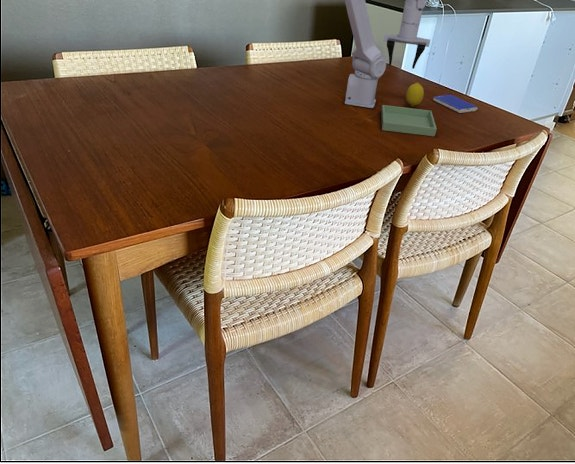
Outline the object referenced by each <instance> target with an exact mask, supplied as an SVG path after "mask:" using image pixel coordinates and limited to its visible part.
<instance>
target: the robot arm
mask: <svg viewBox="0 0 575 464" xmlns="http://www.w3.org/2000/svg"><path fill="white" fill-rule="evenodd" d="M404 1H405V2H404V6H403V12H402V17H401V23H400V26H399V33H398V34H392V33H385V34H384V38H383V42H386V47H387V53H388V66H392V63H393V54H394V51H395V44H396V43H399V44H400V43H401V44H406V45H414V46H415V45H416V50H415V56H414V58H413V62H412V66H411V69H415V68H416V65H417V63H418V60H419V59H420V57H421V56H422V54H423V53H424V52H425V50H426V48H429V47H430V44H431V39H429V38H424V37H418V33H419V28H420V23H421V19H422V14H423V10H424V9H425V7H426V5H427V4H426V3H427V1H428V0H404ZM344 4H345V8H346V13H347V17H348V20H349V24H350V29H351V32H352V37H353V40H354V41H353V42H354V45H355V49H354V50H353V51H352V52H351V55H352V61H351V66H352V69H353V70H354V73H350V74H349V76H348V80H347V84H346V91H345V99H344V105H348V106H355V107H356V106H357V107H361V108H366V109H367V108H368V109H374V108H375V106H376V101H377V100H376V93H377V88H378V81H379V79H381V77H382V76H383V75H384V73H385V71H386V69H387V61H386V59H385V58H384V57H383V54H382V52H381V50H380V49H379V48H378V47H377V46H376V45H375V40H374V35H373V31H372V27H371V22H370V21H371V20H370V17H369V12H368V7H367V3H366V0H344Z"/></svg>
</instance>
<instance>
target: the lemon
mask: <svg viewBox="0 0 575 464" xmlns="http://www.w3.org/2000/svg"><path fill="white" fill-rule="evenodd" d="M424 95H425V90H424V87H423V85H421V84H420V82H415V83H413V84H410V85H409V87H408V88H407V91H406V93H405V100H406V103H407V104H408V105H409V106H410V108H414V107H415V106H418V105H420V103H422V101H423V99H424Z"/></svg>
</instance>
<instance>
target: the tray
mask: <svg viewBox="0 0 575 464" xmlns="http://www.w3.org/2000/svg"><path fill="white" fill-rule="evenodd" d="M380 119H381V120H380V121H381V130H382V131H387V132H394V133H395V132H396V133H403V134H409V135H410V134H411V135H418V136H419V135H420V136H427V137H428V136H429V137H436V133H437V129H438V128H437V124H436V122H435V118H434V115H433V112H432V110H430V109H429V110H428V109H422V108H414V107H405V106H404V107H403V106H395V105H388V104H387V105H386V104H382V105H381V110H380Z"/></svg>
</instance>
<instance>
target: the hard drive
mask: <svg viewBox="0 0 575 464" xmlns="http://www.w3.org/2000/svg"><path fill="white" fill-rule="evenodd" d="M432 101H434V102H436V103H438V104H440V105H442V106H443V107H446V108H448V109H450V110H452V111H455V112H456V113H458V114H464V113H471V112H476V111H477V110H478V106H477V105H474V104H472V103H470V102H468V101H466V100H463V99H462V98H460V97H458V96H455V95H454V94H443V95H435V96H434V97H433V99H432Z"/></svg>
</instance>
